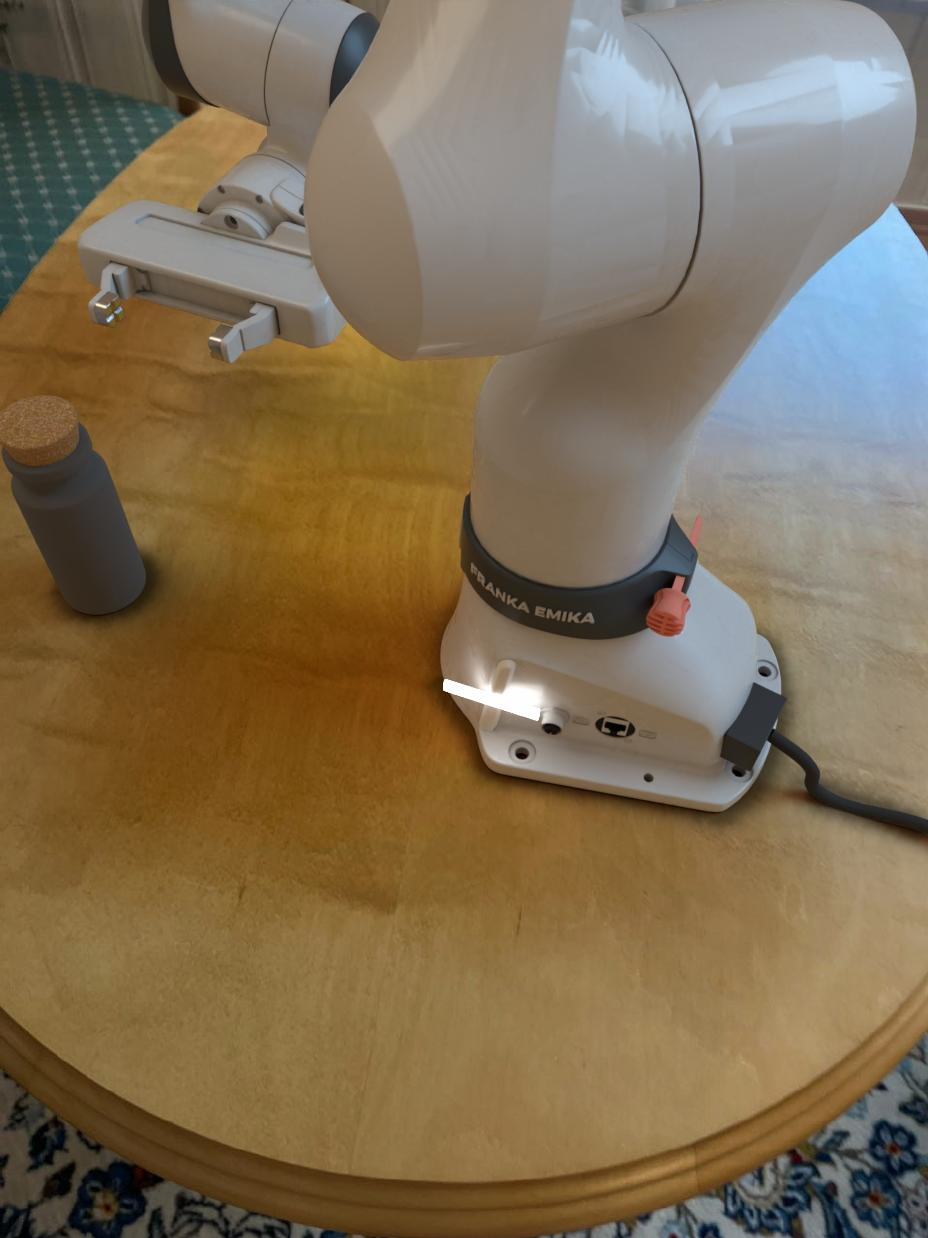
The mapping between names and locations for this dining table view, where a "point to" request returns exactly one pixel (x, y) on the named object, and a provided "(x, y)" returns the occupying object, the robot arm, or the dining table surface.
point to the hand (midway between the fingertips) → (157, 334)
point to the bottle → (70, 505)
